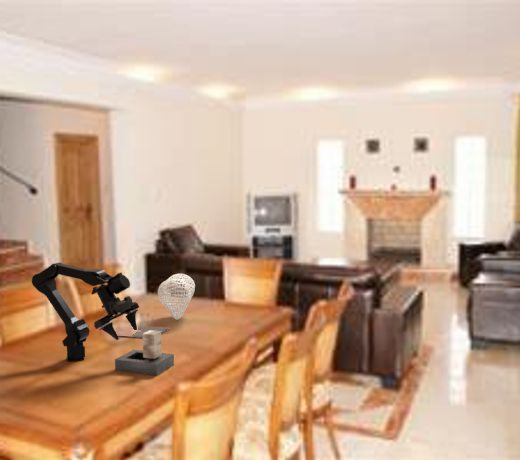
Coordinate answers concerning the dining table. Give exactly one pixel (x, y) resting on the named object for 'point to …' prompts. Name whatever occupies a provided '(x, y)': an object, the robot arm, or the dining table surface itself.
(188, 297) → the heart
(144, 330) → the play button award
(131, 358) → the keyhole plate
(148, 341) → the keyhole post
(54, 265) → the robot arm
